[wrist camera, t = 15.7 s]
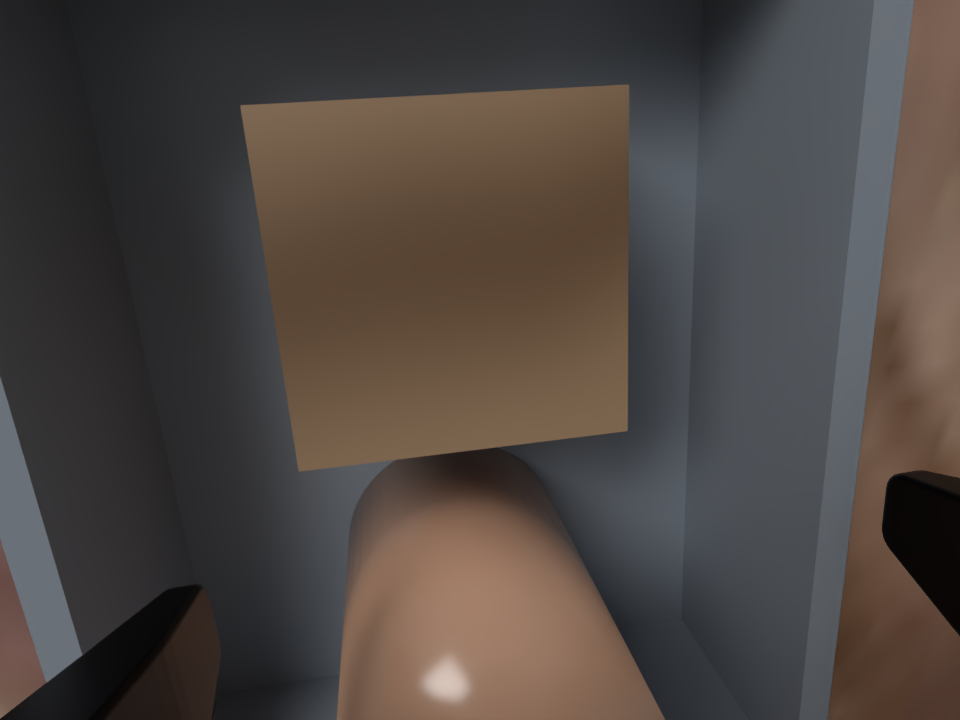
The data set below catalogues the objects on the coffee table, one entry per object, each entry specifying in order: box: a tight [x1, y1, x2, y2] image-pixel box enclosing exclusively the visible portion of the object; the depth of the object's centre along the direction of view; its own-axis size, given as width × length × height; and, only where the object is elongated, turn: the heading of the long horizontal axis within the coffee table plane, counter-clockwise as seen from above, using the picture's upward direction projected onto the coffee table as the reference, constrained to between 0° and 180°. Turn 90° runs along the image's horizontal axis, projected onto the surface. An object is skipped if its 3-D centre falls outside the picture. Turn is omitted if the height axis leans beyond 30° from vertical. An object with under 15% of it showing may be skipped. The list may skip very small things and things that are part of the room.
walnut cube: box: [240, 84, 629, 472], centre depth 12 cm, size 5×5×5 cm
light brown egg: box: [337, 447, 665, 720], centre depth 13 cm, size 5×5×7 cm
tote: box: [0, 0, 914, 720], centre depth 13 cm, size 13×17×6 cm
